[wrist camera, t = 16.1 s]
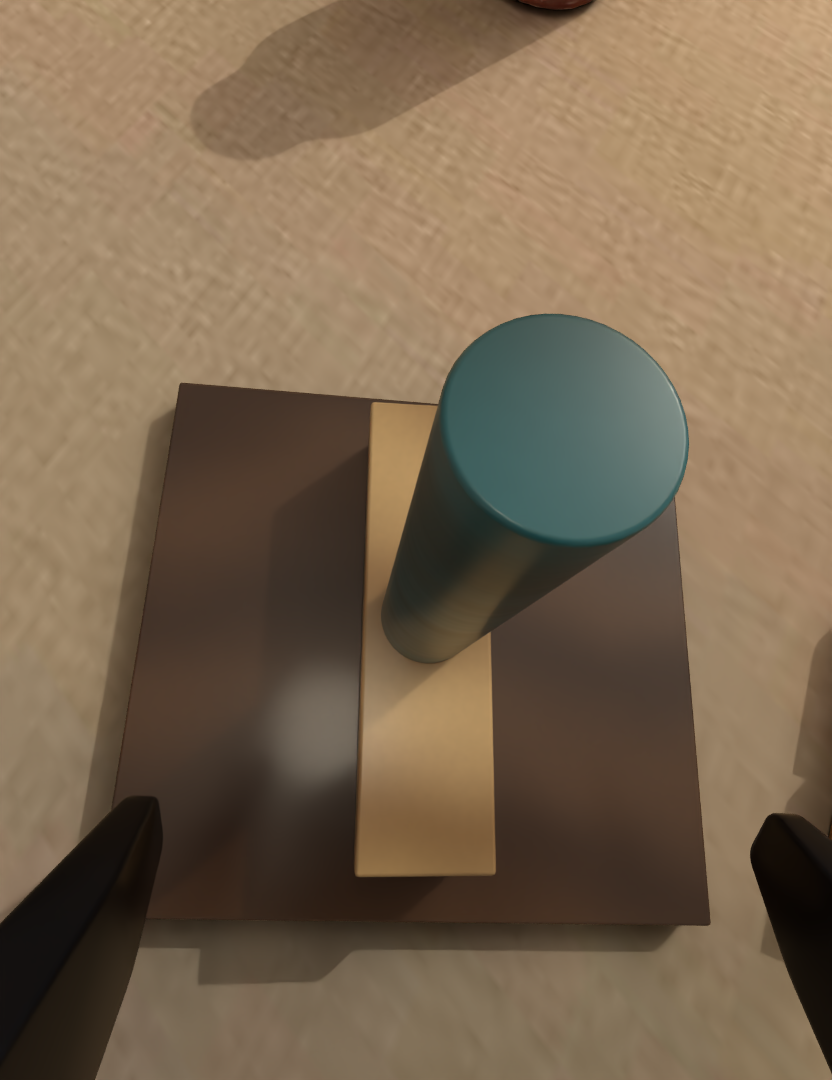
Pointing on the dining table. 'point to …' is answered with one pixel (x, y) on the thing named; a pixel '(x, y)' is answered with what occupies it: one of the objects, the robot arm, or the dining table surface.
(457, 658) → the brush
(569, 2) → the supplement bottle
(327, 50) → the dining table surface
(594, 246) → the dining table surface
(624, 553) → the shelf board
